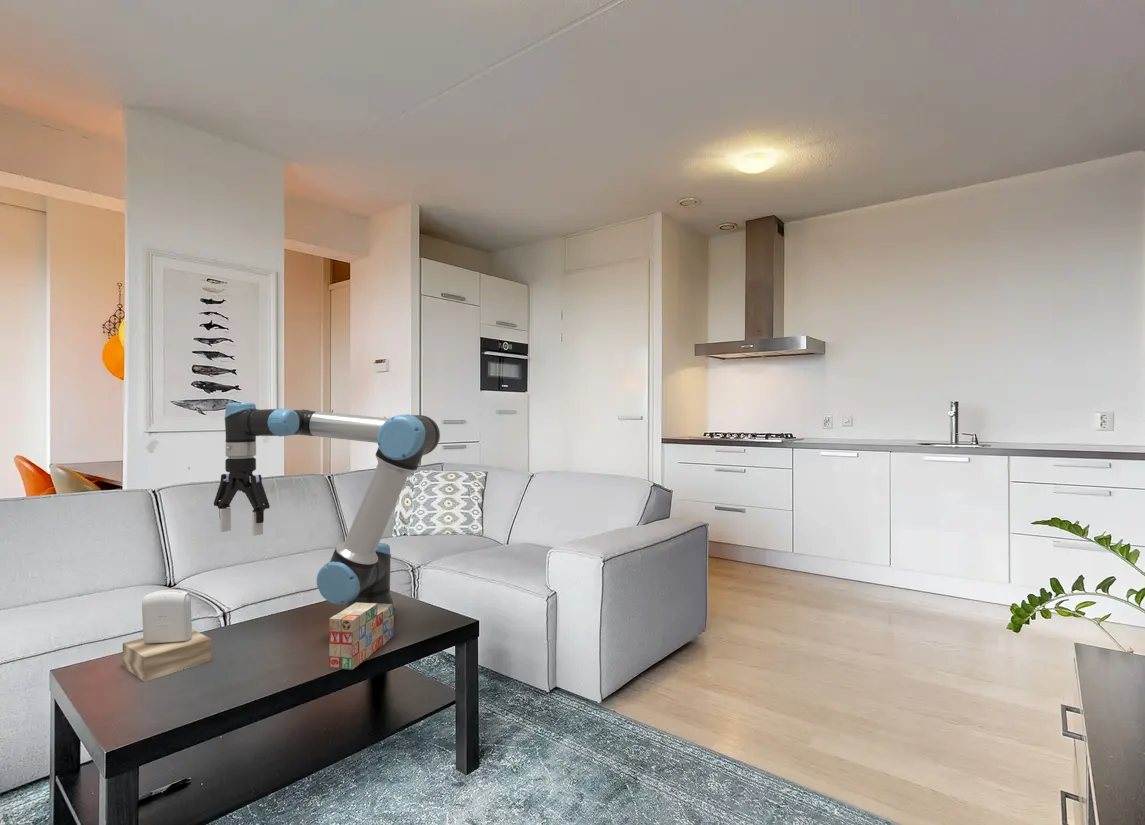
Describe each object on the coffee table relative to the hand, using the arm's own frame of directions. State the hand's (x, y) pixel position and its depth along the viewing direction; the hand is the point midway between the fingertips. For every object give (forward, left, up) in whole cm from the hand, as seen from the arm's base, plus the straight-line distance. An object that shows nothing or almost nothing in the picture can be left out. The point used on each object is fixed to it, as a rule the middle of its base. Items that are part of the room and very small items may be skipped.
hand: (241, 533), depth 165 cm
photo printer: (-5, +21, -22) cm, 31 cm away
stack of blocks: (-41, -7, -28) cm, 50 cm away
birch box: (-5, +21, -28) cm, 36 cm away
